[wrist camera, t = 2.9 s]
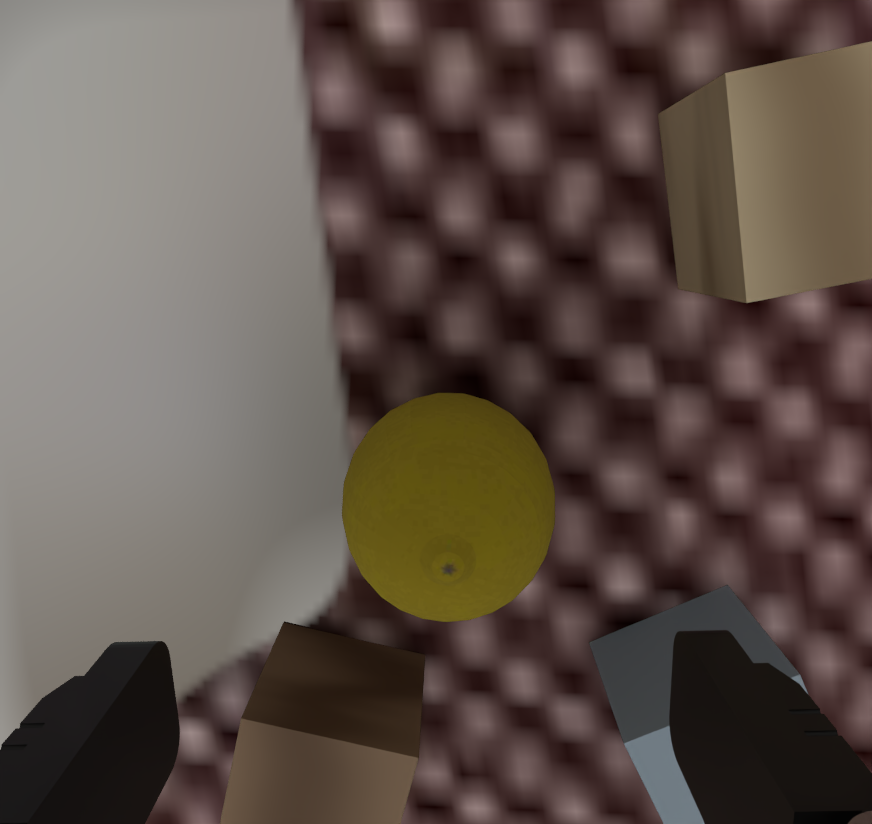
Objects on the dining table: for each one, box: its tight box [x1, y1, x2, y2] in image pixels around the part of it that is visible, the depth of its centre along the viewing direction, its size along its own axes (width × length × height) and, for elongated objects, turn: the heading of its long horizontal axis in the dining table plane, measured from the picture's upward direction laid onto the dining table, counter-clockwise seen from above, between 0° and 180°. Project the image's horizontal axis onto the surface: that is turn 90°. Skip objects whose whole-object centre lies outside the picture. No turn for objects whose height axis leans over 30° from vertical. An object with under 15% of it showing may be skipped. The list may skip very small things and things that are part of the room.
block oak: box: [658, 42, 872, 303], centre depth 18 cm, size 5×5×5 cm
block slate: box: [589, 585, 808, 824], centre depth 22 cm, size 5×5×5 cm
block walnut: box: [220, 621, 425, 824], centre depth 22 cm, size 5×5×5 cm
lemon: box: [342, 393, 555, 622], centre depth 18 cm, size 6×6×8 cm
